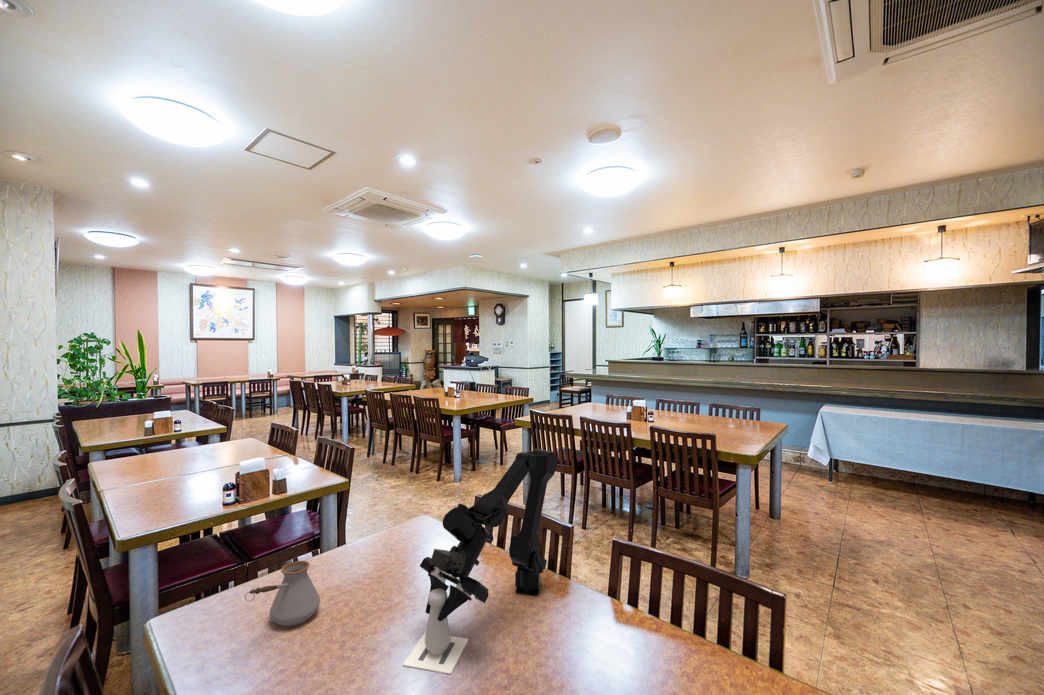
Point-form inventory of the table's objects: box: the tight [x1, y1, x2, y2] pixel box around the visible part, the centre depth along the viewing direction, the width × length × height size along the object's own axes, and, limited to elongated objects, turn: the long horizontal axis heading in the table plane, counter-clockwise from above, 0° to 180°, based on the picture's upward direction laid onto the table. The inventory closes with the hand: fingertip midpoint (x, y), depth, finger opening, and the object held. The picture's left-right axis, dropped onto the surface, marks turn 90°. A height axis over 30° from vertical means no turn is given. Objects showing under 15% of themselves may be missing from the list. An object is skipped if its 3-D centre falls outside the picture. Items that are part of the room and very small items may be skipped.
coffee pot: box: [244, 560, 321, 627], centre depth 105 cm, size 21×12×15 cm, turn 171°
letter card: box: [402, 631, 469, 675], centre depth 98 cm, size 11×11×1 cm
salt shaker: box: [425, 589, 452, 655], centre depth 98 cm, size 6×6×13 cm
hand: (432, 616), depth 97 cm, fingers open, 4 cm apart
